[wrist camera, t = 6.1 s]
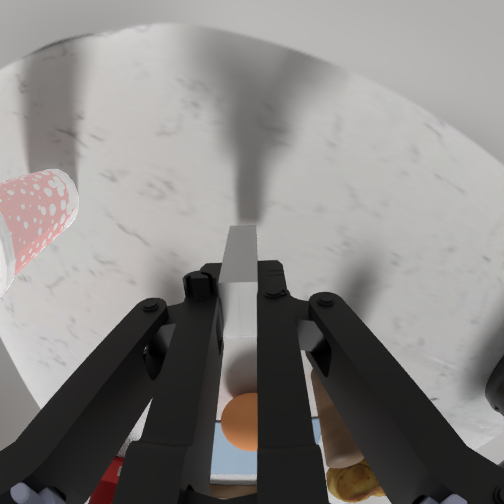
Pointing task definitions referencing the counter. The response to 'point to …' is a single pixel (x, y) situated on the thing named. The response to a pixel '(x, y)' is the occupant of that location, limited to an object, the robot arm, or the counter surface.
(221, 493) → the bar
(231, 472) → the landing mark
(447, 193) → the counter surface
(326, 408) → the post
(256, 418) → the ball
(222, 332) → the robot arm
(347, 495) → the bread roll
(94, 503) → the canned food
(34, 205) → the beverage cup
